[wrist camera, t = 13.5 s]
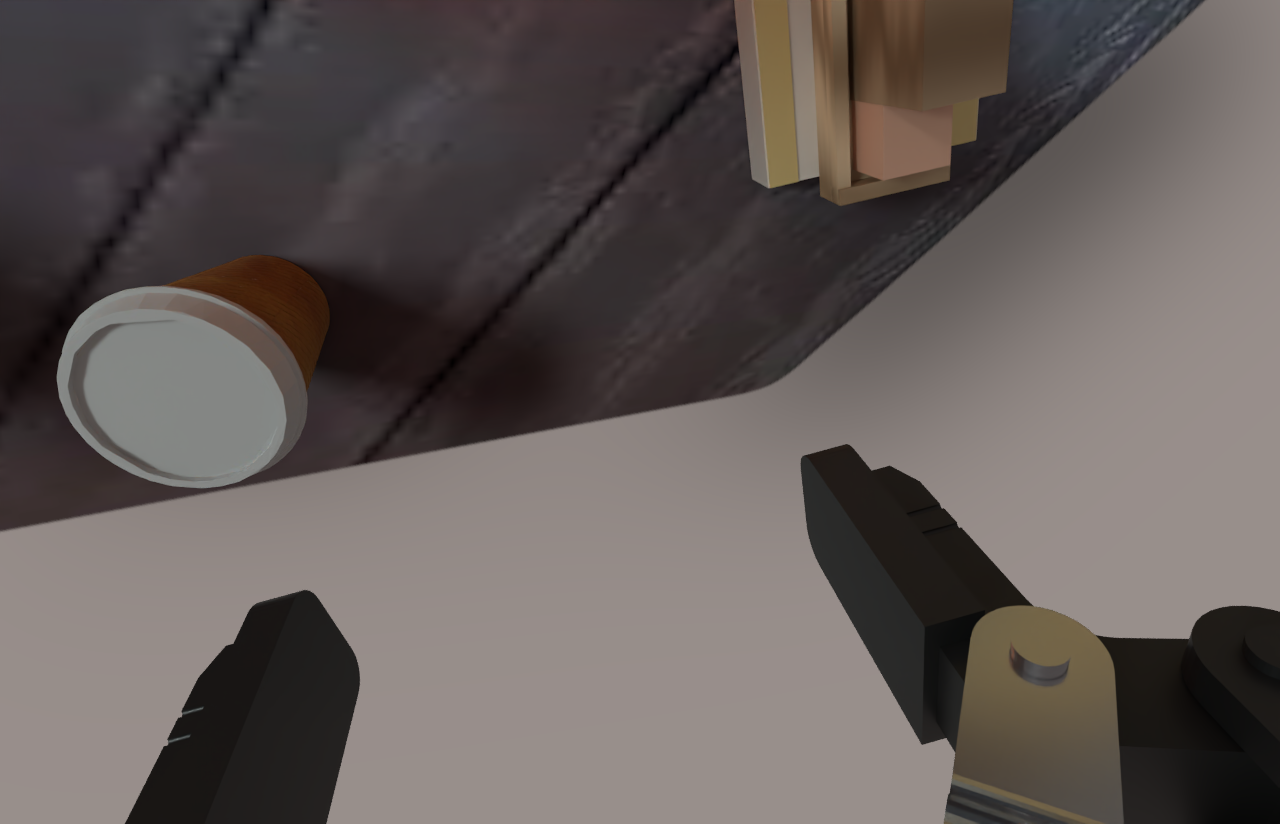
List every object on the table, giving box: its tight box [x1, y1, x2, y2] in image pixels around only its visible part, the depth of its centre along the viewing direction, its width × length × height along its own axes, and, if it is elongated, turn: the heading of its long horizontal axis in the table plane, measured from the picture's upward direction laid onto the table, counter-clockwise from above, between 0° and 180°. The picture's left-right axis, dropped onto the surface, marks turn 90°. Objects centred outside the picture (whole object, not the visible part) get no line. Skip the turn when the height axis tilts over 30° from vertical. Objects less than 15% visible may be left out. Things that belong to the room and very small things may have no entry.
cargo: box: [852, 100, 953, 181], centre depth 32 cm, size 3×3×3 cm
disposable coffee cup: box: [57, 255, 330, 488], centre depth 33 cm, size 10×10×12 cm
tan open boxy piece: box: [811, 0, 1013, 206], centre depth 30 cm, size 14×6×8 cm, turn 11°
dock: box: [734, 0, 979, 188], centre depth 34 cm, size 12×12×3 cm
